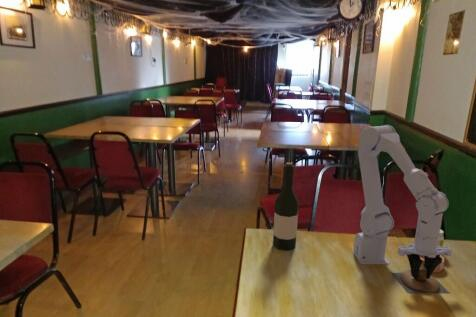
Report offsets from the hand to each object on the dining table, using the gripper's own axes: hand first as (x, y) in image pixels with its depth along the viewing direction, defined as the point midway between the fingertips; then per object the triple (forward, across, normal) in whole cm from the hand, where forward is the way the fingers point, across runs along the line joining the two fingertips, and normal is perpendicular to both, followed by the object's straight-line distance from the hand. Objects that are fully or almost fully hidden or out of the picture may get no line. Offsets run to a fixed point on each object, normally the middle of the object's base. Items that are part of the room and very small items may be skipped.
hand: (420, 276), depth 100 cm
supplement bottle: (+2, +15, +18) cm, 24 cm away
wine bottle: (+2, -36, +23) cm, 43 cm away
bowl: (+2, +8, +10) cm, 13 cm away
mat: (+2, 0, 0) cm, 2 cm away
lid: (+2, 0, 0) cm, 2 cm away
